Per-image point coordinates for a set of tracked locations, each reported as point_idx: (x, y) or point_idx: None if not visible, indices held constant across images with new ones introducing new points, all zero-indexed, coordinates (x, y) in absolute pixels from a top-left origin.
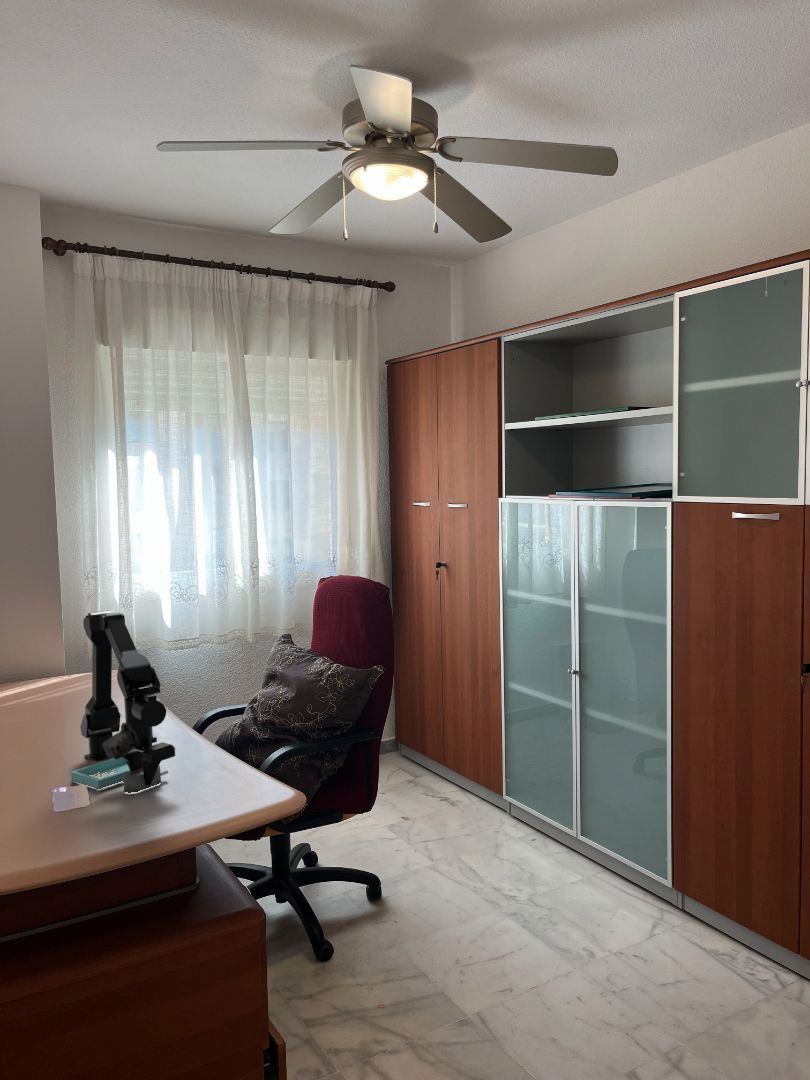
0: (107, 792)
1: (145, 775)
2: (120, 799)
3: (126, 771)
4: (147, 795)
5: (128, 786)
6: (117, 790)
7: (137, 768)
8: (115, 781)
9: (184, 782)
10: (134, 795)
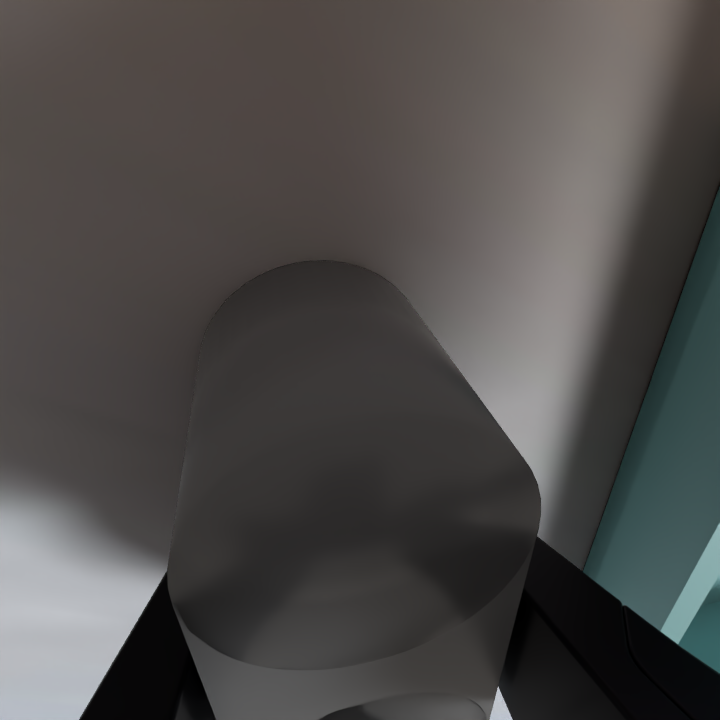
0: (616, 142)
1: (113, 687)
2: (171, 92)
3: (714, 523)
4: (28, 426)
5: (251, 341)
6: (541, 267)
7: (521, 669)
8: (708, 350)
9: None
10: (173, 322)
